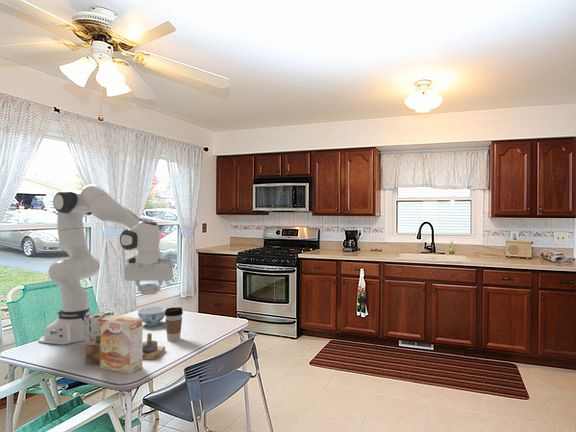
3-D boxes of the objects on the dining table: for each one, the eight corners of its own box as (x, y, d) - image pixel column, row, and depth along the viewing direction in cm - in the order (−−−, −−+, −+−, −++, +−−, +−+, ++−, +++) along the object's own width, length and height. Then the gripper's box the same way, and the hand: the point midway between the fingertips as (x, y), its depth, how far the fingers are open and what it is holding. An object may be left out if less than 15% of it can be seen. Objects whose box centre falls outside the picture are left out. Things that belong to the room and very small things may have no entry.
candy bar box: (107, 346, 174) (107, 310, 174) (114, 348, 172) (114, 311, 172) (83, 353, 165) (83, 315, 165) (90, 355, 162) (90, 317, 162)
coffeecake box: (99, 368, 149) (99, 318, 149) (113, 362, 156) (113, 314, 156) (129, 374, 144) (129, 322, 144) (143, 367, 150) (143, 318, 150)
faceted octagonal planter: (144, 291, 167) (144, 283, 167) (158, 291, 166) (158, 283, 166) (138, 294, 160) (138, 286, 160) (153, 294, 160) (153, 286, 160)
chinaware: (155, 318, 220) (155, 305, 220) (172, 323, 211) (172, 309, 211) (132, 324, 207) (132, 310, 207) (148, 329, 199) (148, 315, 199)
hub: (132, 358, 159) (132, 337, 159) (142, 350, 169) (142, 330, 169) (156, 359, 159) (156, 337, 159) (164, 350, 169) (165, 330, 169)
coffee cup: (177, 343, 179) (177, 311, 179) (161, 341, 180) (161, 310, 180) (185, 337, 187) (185, 306, 187) (170, 336, 189) (170, 305, 189)
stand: (85, 364, 153) (85, 338, 153) (94, 358, 160) (94, 333, 160) (102, 364, 153) (102, 338, 153) (110, 358, 160) (110, 333, 160)
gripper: (175, 257, 166) (175, 289, 166) (129, 257, 167) (129, 289, 167) (170, 259, 160) (170, 292, 160) (122, 259, 161) (122, 292, 161)
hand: (149, 290), depth 164 cm, fingers closed on faceted octagonal planter, 6 cm apart
